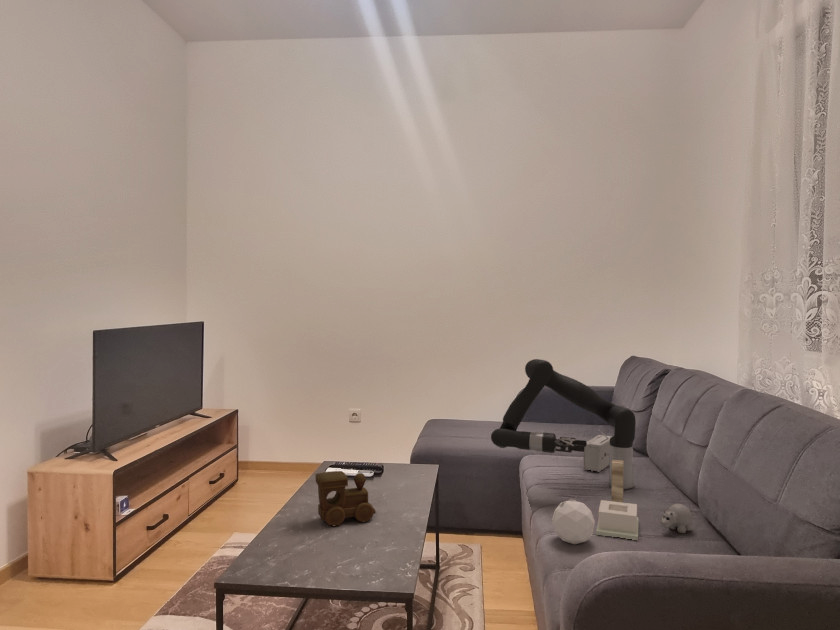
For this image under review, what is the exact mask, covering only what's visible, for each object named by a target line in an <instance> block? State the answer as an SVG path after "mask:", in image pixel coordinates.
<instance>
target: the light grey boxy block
mask: <svg viewBox="0 0 840 630" xmlns="http://www.w3.org/2000/svg"><path fill="white" fill-rule="evenodd" d="M597 431H599V432H600V433H601V434H598V435H596V436H594V437H593V438H591V439H590V440H588V441H587V440H586V441H587V446H586V447H584V452H582V456H583V457H582V458H583V459H582V460H583V461H582V462H583V464H582V465H583V470H585V471H587V470H591V471H590V472H593V471H597V472H596V473H598V472H599V473H600V472H602V471H603V470H605V469H606V468H607V467H609V454H610V438H611V437H613V436H612V435H606V434H604V432H602V430H600V429H599V428H598V429H597ZM601 470H602V471H601Z"/></svg>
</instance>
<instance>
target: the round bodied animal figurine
mask: <svg viewBox="0 0 840 630" xmlns="http://www.w3.org/2000/svg"><path fill="white" fill-rule="evenodd" d="M691 521H692V513H691V510H690V509H689V507H687V506H686V505H685V504H681V503H674V504H672V505H670V506H669V508H668V510H666V509H665V508H663V515H662V518H661V522H660V523H661V526H662V527H663V528H666V529H668V528H669V529H670V530H675V531H677V532H678V533H679V534H686V532H691V531H693V526H692V523H691Z"/></svg>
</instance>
